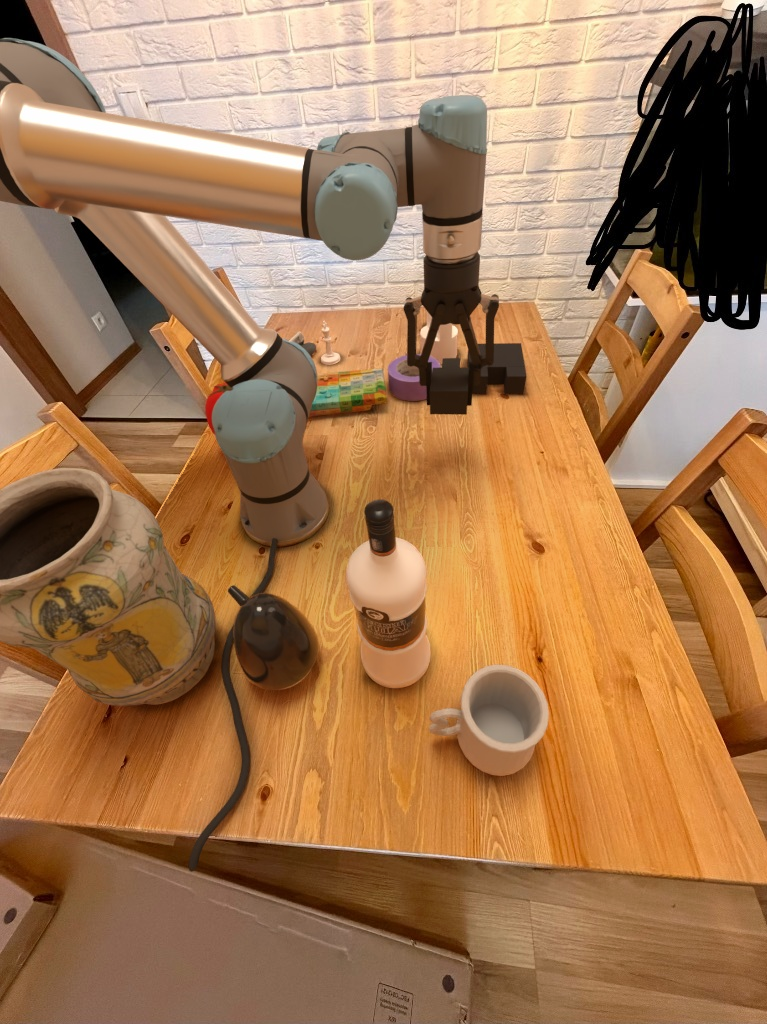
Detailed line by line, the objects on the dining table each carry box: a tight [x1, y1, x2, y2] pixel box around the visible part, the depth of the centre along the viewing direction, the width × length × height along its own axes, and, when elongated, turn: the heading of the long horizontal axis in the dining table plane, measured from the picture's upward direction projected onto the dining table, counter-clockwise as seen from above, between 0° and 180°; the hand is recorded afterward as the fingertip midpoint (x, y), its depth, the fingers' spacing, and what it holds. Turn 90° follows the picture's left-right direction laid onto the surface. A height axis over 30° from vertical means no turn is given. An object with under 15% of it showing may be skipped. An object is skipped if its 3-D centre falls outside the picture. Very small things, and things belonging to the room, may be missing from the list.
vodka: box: [345, 498, 431, 689], centre depth 51 cm, size 9×9×30 cm
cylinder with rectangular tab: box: [419, 311, 459, 365], centre depth 109 cm, size 9×9×12 cm
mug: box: [428, 664, 550, 777], centre depth 51 cm, size 12×9×10 cm
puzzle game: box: [309, 367, 388, 417], centre depth 102 cm, size 12×5×20 cm
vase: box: [0, 467, 216, 707], centre depth 53 cm, size 18×18×30 cm
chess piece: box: [320, 320, 341, 366], centre depth 112 cm, size 5×5×10 cm
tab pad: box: [429, 357, 469, 416], centre depth 77 cm, size 10×6×4 cm, turn 172°
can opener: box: [288, 330, 317, 357], centre depth 114 cm, size 19×6×5 cm, turn 153°
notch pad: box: [466, 342, 528, 395], centre depth 104 cm, size 14×12×4 cm
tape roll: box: [387, 353, 442, 402], centre depth 104 cm, size 12×12×5 cm
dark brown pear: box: [227, 585, 320, 691], centre depth 57 cm, size 10×10×15 cm
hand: (449, 400), depth 78 cm, fingers closed on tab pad, 6 cm apart
